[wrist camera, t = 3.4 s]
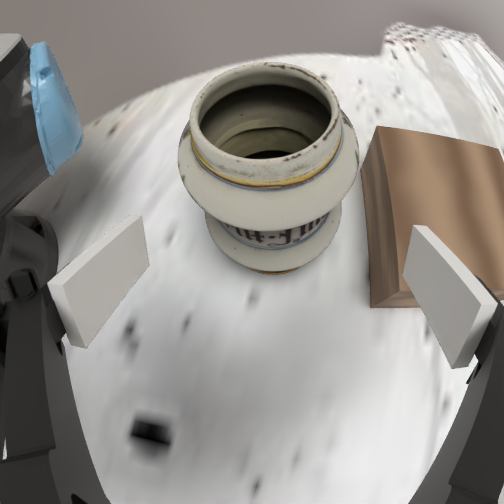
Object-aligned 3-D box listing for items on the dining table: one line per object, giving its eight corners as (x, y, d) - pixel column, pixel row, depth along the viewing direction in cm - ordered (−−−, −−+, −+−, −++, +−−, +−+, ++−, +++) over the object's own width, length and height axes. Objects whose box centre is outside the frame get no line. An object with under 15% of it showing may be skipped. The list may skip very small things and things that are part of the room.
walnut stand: (370, 307, 29) (399, 290, 21) (360, 170, 34) (376, 125, 26) (490, 304, 27) (533, 287, 20) (469, 183, 32) (498, 149, 25)
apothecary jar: (193, 234, 33) (121, 120, 16) (269, 162, 35) (259, 29, 18) (278, 311, 29) (277, 247, 12) (353, 225, 32) (410, 104, 15)
